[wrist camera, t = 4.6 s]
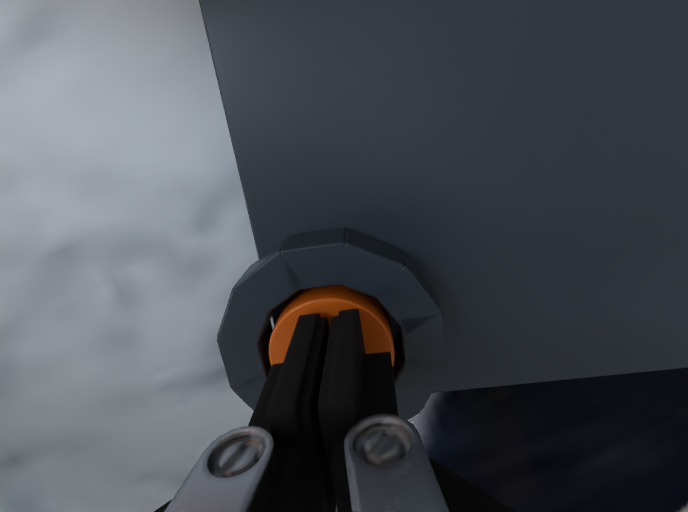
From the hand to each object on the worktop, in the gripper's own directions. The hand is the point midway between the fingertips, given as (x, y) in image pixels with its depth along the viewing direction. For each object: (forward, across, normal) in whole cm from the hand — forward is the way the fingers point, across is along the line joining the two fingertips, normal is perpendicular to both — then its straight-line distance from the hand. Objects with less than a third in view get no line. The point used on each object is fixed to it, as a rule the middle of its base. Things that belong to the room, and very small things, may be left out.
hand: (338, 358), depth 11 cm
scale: (+4, -5, -5) cm, 8 cm away
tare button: (+2, 0, 0) cm, 2 cm away
